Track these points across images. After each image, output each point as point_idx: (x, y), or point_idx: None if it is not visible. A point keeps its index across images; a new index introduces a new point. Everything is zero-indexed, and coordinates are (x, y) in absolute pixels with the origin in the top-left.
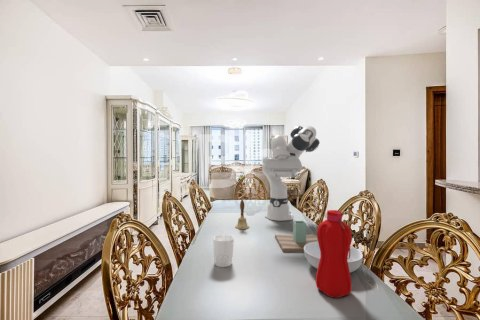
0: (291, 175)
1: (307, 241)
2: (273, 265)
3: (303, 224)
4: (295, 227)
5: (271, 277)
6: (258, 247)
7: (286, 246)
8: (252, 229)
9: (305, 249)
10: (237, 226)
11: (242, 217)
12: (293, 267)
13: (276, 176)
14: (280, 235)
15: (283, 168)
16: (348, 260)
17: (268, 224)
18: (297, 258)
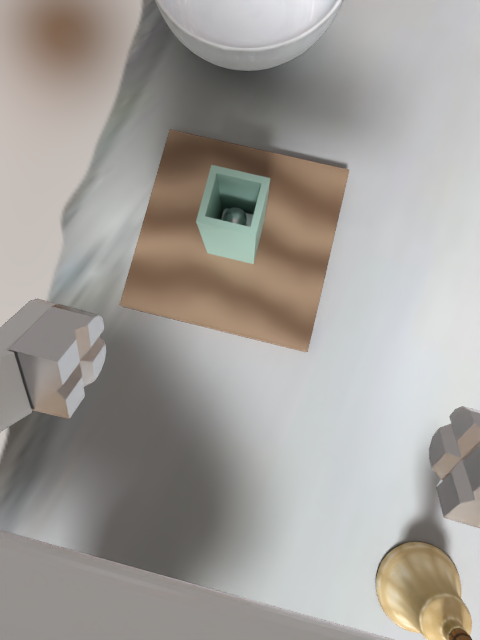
0: (76, 400)
1: None
2: (427, 76)
3: (228, 170)
4: (267, 194)
5: (463, 4)
6: (425, 246)
7: (324, 186)
8: (371, 522)
9: (332, 6)
10: (456, 577)
11: (452, 615)
12: (368, 47)
13: (459, 420)
14: (285, 332)
15: (257, 606)
16: (181, 5)
17: None
18: (319, 108)
